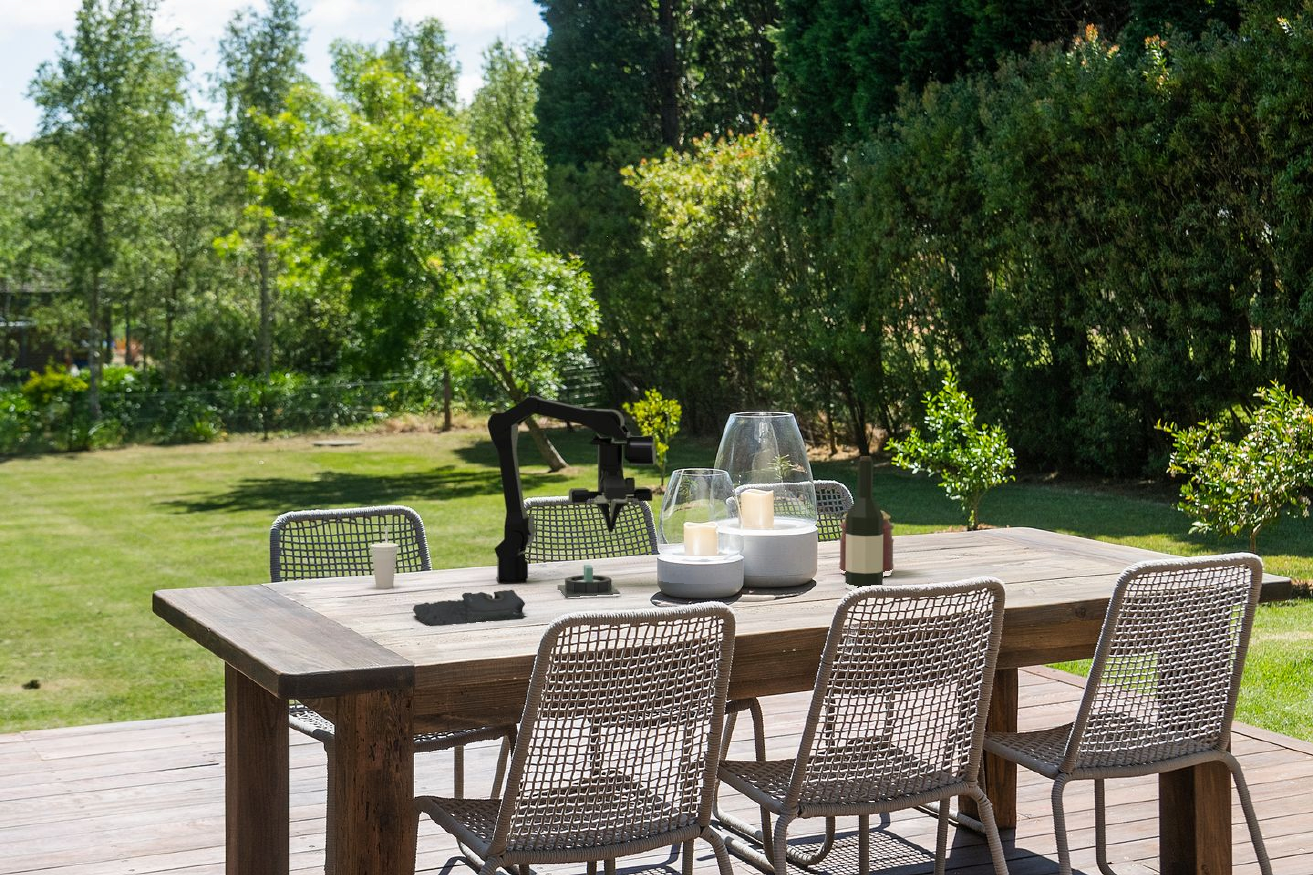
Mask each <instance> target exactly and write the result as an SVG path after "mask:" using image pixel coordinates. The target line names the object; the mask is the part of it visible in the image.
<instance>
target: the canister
mask: <svg viewBox="0 0 1313 875" xmlns="http://www.w3.org/2000/svg"><path fill="white" fill-rule="evenodd" d="M880 511H881V513H882V514H883V572H885V571H890V570H892V569H893V570H894V566H895V565H894V541H895V540H894V538H893V533H892V531H893V530H894V528H895V525H893V524H892V523H891V522H890V520H889V519H891V515H890V514H887V512H885V511H884V510H881V509H880ZM846 515H847V513H845V514H843V518H844V521H843V522H841V523H840V524H839V528H840V529H841V536H840V537H839V543H840V544H839V547H840V548H839V567H838V568H839V570H840V569H841V570H843V571H846Z"/></svg>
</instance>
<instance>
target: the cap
mask: <svg viewBox="0 0 1313 875" xmlns="http://www.w3.org/2000/svg"><path fill="white" fill-rule="evenodd" d="M583 575H584V580H578V581H581V582H596V581H599V580H593V575H594V567H593V566H592V565H591V564H583Z"/></svg>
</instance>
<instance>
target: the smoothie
mask: <svg viewBox="0 0 1313 875" xmlns="http://www.w3.org/2000/svg"><path fill="white" fill-rule="evenodd" d="M388 532H389V531H388V525H385V526H384V537H385V538H384V539H385V540H384V542H379V543H378V542H377V543H372V544H370V545H369V550H370V551H371V558H372V565H373V573H374V574H373V575H374V579H375V587H376V589H380V590H383V589H384V590H385V589H386V590H387V589H392V588H394V581H395V571H396V562H397V555H398V550H399V544H398V543H393V542H389V540H388V537H389V536H388Z"/></svg>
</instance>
